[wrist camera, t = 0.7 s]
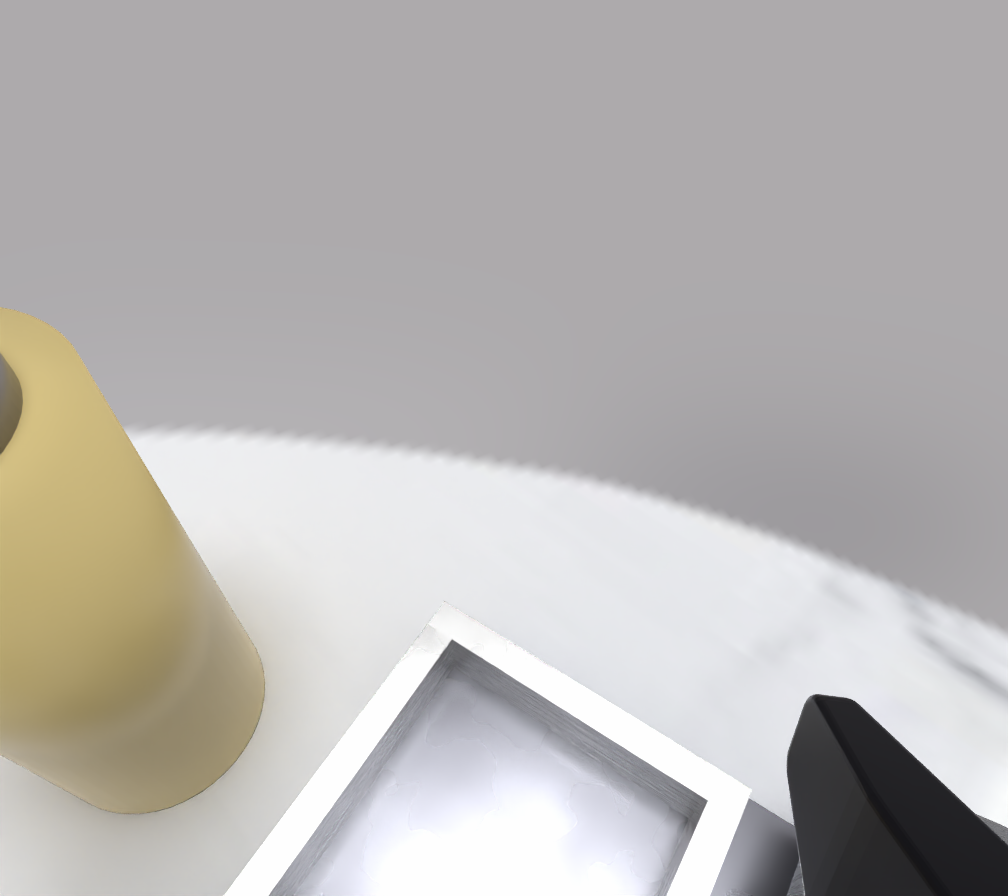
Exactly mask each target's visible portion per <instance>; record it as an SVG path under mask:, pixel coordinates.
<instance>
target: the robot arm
mask: <svg viewBox="0 0 1008 896" xmlns="http://www.w3.org/2000/svg"><path fill="white" fill-rule="evenodd" d="M787 777H788V784H789V791H790V798H791V805H792V812H793V819H794V825H795V832H796V839H797V846H798V853H799V860H800V867H801V874H802V880H803V887H804V894H805V896H1008V844H1007V843H1006V842H1005V841H1004V840H1003V839H1001V838H1000V837H999V836H998V835H997V834H996V833H995V832H994V831H993V830H992V829H991V828H990V827H989V826H988V825H987V824H986V823H984V822H983V821H982V820H981V819H980V818H979V817H978V816H977V815H976V814H975V813H974V812H973V811H972V810H971V809H970V808H968V807H967V806H966V805H965V804H964V803H963V802H962V801H961V800H960V799H959V798H958V797H957V796H956V795H955V794H954V793H953V792H951V791H950V790H949V789H948V788H947V787H946V786H945V785H944V784H943V783H942V782H941V781H940V780H939V779H938V778H937V777H936V776H934V775H933V774H932V773H931V772H930V771H929V770H928V769H927V768H926V767H925V766H924V765H923V764H922V763H921V762H920V761H919V760H917V759H916V758H915V757H914V756H913V755H912V754H911V753H910V752H909V751H908V750H907V749H906V748H905V747H904V746H903V745H902V744H900V743H899V742H898V741H897V740H896V739H895V738H894V737H893V736H892V735H891V734H890V733H889V732H888V731H887V730H886V729H885V728H883V727H882V726H881V725H880V724H879V723H878V722H877V721H876V720H875V719H874V718H873V717H872V716H871V715H870V714H869V713H868V712H866V711H865V710H864V709H863V708H862V707H861V706H860V705H859V704H858V703H856V702H855V701H853V700H852V699H848V698H844V697H836V696H828V695H820V694H815V695H812V696H810V697H809V698H808V699H807V701H806V702H805V704H804V707H803V710H802V713H801V715H800V718H799V721H798V724H797V727H796V730H795V733H794V735H793V738H792V741H791V744H790V747H789V750H788V755H787Z"/></svg>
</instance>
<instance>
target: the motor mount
mask: <svg viewBox="0 0 1008 896" xmlns="http://www.w3.org/2000/svg"><path fill="white" fill-rule="evenodd" d="M751 791H752V789H750V788H749V787H747V786H745V785H744V784H742V783H740V782H739V781H737V780H736V779H734V778H732V777H731V776H729V775H727V774H726V773H724V772H723V771H721V770H719V769H718V768H716V767H714V766H713V765H711V764H709V763H708V762H706V761H705V760H703V759H701V758H700V757H698V756H696V755H695V754H693V753H692V752H690V751H688V750H687V749H685V748H683V747H682V746H680V745H678V744H677V743H675V742H674V741H672V740H670V739H669V738H667V737H665V736H664V735H662V734H661V733H659V732H657V731H656V730H654V729H652V728H651V727H649V726H648V725H646V724H644V723H643V722H641V721H639V720H638V719H636V718H634V717H633V716H631V715H630V714H628V713H626V712H625V711H623V710H621V709H620V708H618V707H617V706H615V705H613V704H612V703H610V702H608V701H607V700H605V699H603V698H602V697H600V696H599V695H597V694H595V693H594V692H592V691H590V690H589V689H587V688H586V687H584V686H582V685H581V684H579V683H577V682H576V681H574V680H573V679H571V678H569V677H568V676H566V675H564V674H563V673H561V672H559V671H558V670H556V669H555V668H553V667H551V666H550V665H548V664H546V663H545V662H543V661H542V660H540V659H538V658H537V657H535V656H533V655H532V654H530V653H528V652H527V651H525V650H524V649H522V648H520V647H519V646H517V645H515V644H514V643H512V642H511V641H509V640H507V639H506V638H504V637H502V636H501V635H499V634H498V633H496V632H494V631H493V630H491V629H489V628H488V627H486V626H484V625H483V624H481V623H480V622H478V621H476V620H475V619H473V618H471V617H470V616H468V615H467V614H465V613H463V612H462V611H460V610H458V609H457V608H455V607H453V606H452V605H450V604H449V603H447V602H445V601H444V602H443V604H442V605H441V606H440V608H439V609H438V610H437V612H436V613H435V614H434V616H433V617H432V619H431V620H430V621H429V623H428V624H427V625H426V627H425V628H424V629H423V631H422V632H421V633H420V635H419V636H418V637H417V639H416V640H415V641H414V643H413V644H412V645H411V647H410V648H409V649H408V651H407V652H406V653H405V655H404V656H403V657H402V659H401V660H400V661H399V663H398V664H397V665H396V667H395V668H394V669H393V671H392V672H391V673H390V675H389V676H388V677H387V679H386V680H385V681H384V683H383V684H382V685H381V687H380V688H379V689H378V691H377V692H376V693H375V695H374V696H373V697H372V699H371V700H370V701H369V703H368V704H367V705H366V707H365V708H364V709H363V711H362V712H361V713H360V715H359V716H358V717H357V719H356V720H355V721H354V723H353V724H352V725H351V727H350V728H349V729H348V731H347V732H346V733H345V735H344V736H343V737H342V739H341V740H340V741H339V743H338V744H337V745H336V747H335V748H334V749H333V751H332V752H331V753H330V755H329V756H328V757H327V759H326V760H325V761H324V763H323V764H322V765H321V767H320V768H319V769H318V771H317V772H316V773H315V775H314V776H313V777H312V779H311V780H310V781H309V783H308V784H307V785H306V787H305V788H304V789H303V791H302V792H301V794H300V795H299V796H298V798H297V799H296V800H295V802H294V803H293V804H292V806H291V807H290V808H289V810H288V811H287V812H286V814H285V815H284V816H283V818H282V819H281V820H280V822H279V823H278V824H277V826H276V827H275V828H274V830H273V831H272V832H271V834H270V835H269V836H268V838H267V839H266V840H265V842H264V843H263V844H262V846H261V847H260V848H259V850H258V851H257V852H256V854H255V855H254V856H253V858H252V859H251V860H250V862H249V863H248V864H247V866H246V867H245V868H244V870H243V871H242V872H241V874H240V875H239V876H238V878H237V879H236V880H235V882H234V883H233V884H232V886H231V887H230V888H229V890H228V891H227V892H226V894H225V895H224V896H805V894H804V887H803V880H802V874H801V867H800V860H799V853H798V846H797V839H796V832H795V826H793V825H791V824H790V823H788V822H786V821H785V820H783V819H782V818H780V817H778V816H777V815H775V814H774V813H772V812H770V811H769V810H767V809H765V808H764V807H762V806H761V805H759V804H757V803H756V802H754V801H752V800H751V799H749V796H750V794H751ZM976 815H977V814H976ZM977 816H978V817H979V818H980V819H981V820H982V821H983V822H984V823H986V824H987V825H988V826H989V827H990V828H991V829H992V830H993V831H994V832H995V833H996V834H997V835H998V836H999V837H1000V838H1001V839H1003V840H1004V841H1005V842H1006V843H1007V844H1008V828H1007V827H1004V826H1002V825H1000V824H998V823H996V822H993V821H991V820H989V819H986V818H984V817H981V816H979V815H977Z"/></svg>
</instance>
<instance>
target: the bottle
mask: <svg viewBox="0 0 1008 896" xmlns="http://www.w3.org/2000/svg"><path fill="white" fill-rule="evenodd" d="M264 690H265V681H264V671H263V667H262V663H261V659H260V657H259V655H258V652H257V650H256V648H255V647H254V645H253V643H252V642H251V640H250V638H249V637H248V635H247V633H246V632H245V630H244V628H243V627H242V625H241V623H240V622H239V620H238V618H237V617H236V615H235V613H234V612H233V610H232V608H231V607H230V605H229V603H228V602H227V600H226V598H225V597H224V595H223V593H222V592H221V590H220V588H219V587H218V585H217V584H216V582H215V580H214V579H213V577H212V575H211V574H210V572H209V570H208V569H207V567H206V565H205V564H204V562H203V560H202V559H201V557H200V555H199V554H198V552H197V550H196V549H195V547H194V545H193V544H192V542H191V540H190V539H189V537H188V535H187V534H186V532H185V530H184V529H183V527H182V526H181V524H180V522H179V521H178V519H177V517H176V516H175V514H174V512H173V511H172V509H171V507H170V506H169V504H168V502H167V501H166V499H165V497H164V496H163V494H162V492H161V491H160V489H159V487H158V486H157V484H156V482H155V481H154V479H153V477H152V476H151V474H150V472H149V471H148V469H147V467H146V466H145V464H144V463H143V461H142V459H141V458H140V456H139V454H138V453H137V451H136V449H135V448H134V446H133V444H132V443H131V441H130V439H129V438H128V436H127V434H126V433H125V431H124V429H123V428H122V426H121V425H120V423H119V421H118V420H117V418H116V416H115V415H114V413H113V411H112V409H111V408H110V406H109V405H108V403H107V401H106V400H105V398H104V396H103V395H102V393H101V391H100V390H99V388H98V386H97V385H96V383H95V381H94V380H93V378H92V376H91V375H90V373H89V372H88V370H87V368H86V367H85V365H84V363H83V361H82V360H81V358H80V357H79V355H78V353H77V352H76V350H75V349H74V347H73V346H72V344H71V343H70V342H69V341H68V340H67V339H66V338H65V337H64V336H63V335H62V334H61V333H60V332H59V331H57V330H56V329H54V328H53V327H52V326H50V325H49V324H47V323H45V322H43V321H41V320H39V319H37V318H35V317H33V316H31V315H28V314H25V313H22V312H19V311H16V310H11V309H7V308H1V307H0V755H2V756H3V757H5V758H7V759H9V760H11V761H13V762H14V763H16V764H18V765H20V766H22V767H23V768H25V769H27V770H29V771H31V772H33V773H34V774H36V775H38V776H40V777H42V778H43V779H45V780H47V781H49V782H51V783H53V784H54V785H56V786H58V787H60V788H62V789H64V790H65V791H67V792H69V793H71V794H73V795H74V796H76V797H78V798H80V799H82V800H84V801H85V802H87V803H89V804H91V805H93V806H95V807H98V808H100V809H103V810H107V811H110V812H115V813H123V814H142V813H149V812H155V811H159V810H162V809H166V808H169V807H172V806H175V805H177V804H179V803H182V802H184V801H186V800H188V799H190V798H192V797H193V796H195V795H197V794H199V793H200V792H202V791H203V790H205V789H206V788H207V787H209V786H210V785H212V784H213V783H214V782H215V781H216V780H217V779H219V778H220V777H221V776H222V775H223V774H224V773H225V772H226V771H227V770H228V769H229V768H230V767H231V766H232V765H233V763H234V762H235V761H236V760H237V759H238V757H239V756H240V754H241V753H242V752H243V750H244V749H245V747H246V746H247V744H248V742H249V740H250V739H251V737H252V735H253V733H254V731H255V728H256V726H257V724H258V721H259V718H260V714H261V711H262V706H263V701H264Z"/></svg>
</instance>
